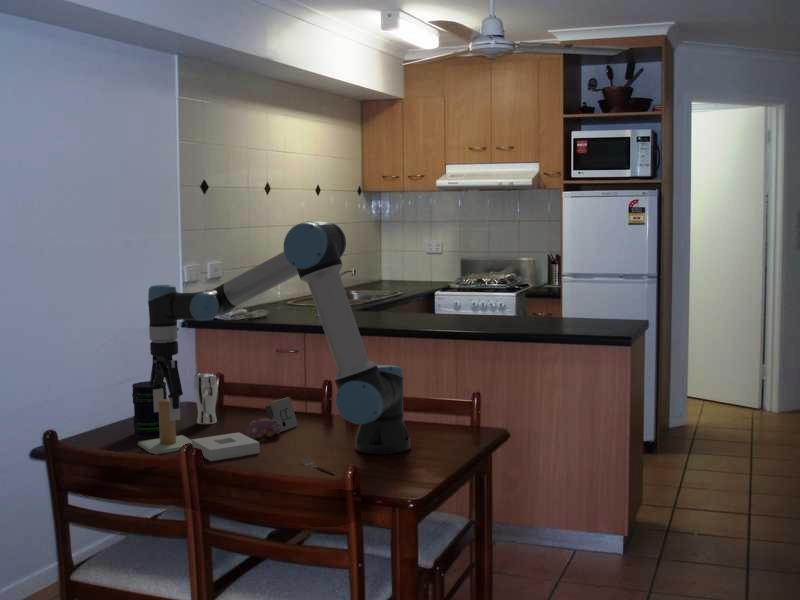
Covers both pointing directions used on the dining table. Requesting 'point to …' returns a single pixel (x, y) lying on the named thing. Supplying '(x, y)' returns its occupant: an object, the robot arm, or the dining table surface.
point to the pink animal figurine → (263, 427)
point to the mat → (158, 448)
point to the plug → (166, 424)
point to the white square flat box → (226, 446)
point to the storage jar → (145, 410)
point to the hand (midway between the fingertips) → (166, 415)
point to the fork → (316, 466)
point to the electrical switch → (282, 413)
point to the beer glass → (206, 397)
